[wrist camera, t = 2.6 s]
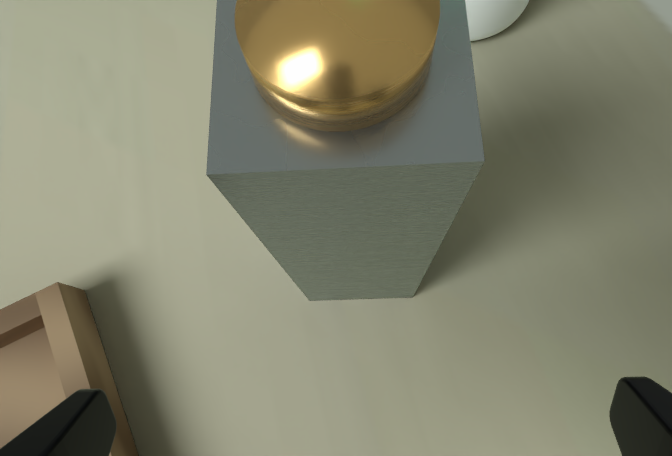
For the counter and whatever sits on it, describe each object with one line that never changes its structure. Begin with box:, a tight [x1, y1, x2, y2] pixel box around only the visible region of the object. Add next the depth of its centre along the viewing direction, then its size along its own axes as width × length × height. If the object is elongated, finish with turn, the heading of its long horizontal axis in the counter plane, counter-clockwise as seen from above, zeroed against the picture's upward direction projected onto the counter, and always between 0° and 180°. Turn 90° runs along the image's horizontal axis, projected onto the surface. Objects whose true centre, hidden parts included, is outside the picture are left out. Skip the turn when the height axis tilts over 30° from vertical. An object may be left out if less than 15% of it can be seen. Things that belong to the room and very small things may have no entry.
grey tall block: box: [206, 0, 485, 301], centre depth 15 cm, size 4×4×15 cm
